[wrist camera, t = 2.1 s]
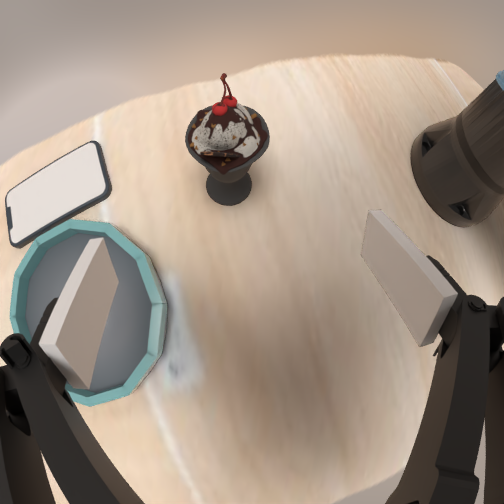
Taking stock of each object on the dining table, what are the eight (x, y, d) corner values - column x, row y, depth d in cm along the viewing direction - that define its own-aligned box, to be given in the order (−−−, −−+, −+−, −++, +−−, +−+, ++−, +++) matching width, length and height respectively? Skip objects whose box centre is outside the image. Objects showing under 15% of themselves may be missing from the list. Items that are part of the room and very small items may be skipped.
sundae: (232, 147, 33) (232, 51, 18) (271, 188, 32) (297, 101, 18) (186, 181, 32) (156, 93, 17) (225, 225, 31) (217, 154, 17)
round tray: (133, 201, 31) (124, 191, 28) (196, 367, 28) (192, 373, 25) (12, 265, 29) (-2, 261, 26) (58, 411, 26) (46, 417, 23)
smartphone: (101, 142, 33) (9, 196, 31) (96, 135, 32) (3, 192, 29) (116, 197, 32) (17, 253, 30) (111, 192, 30) (10, 250, 28)
